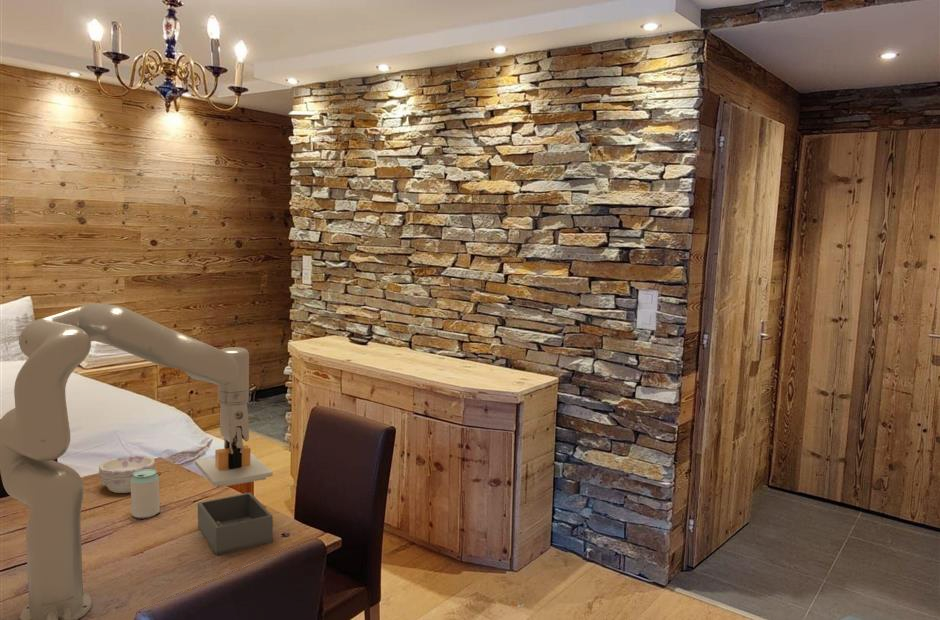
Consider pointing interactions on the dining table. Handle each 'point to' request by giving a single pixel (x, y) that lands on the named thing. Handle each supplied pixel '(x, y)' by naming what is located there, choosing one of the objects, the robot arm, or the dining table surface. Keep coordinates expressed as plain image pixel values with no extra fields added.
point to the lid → (224, 476)
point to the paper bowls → (123, 472)
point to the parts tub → (234, 523)
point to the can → (145, 494)
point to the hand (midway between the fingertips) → (232, 465)
